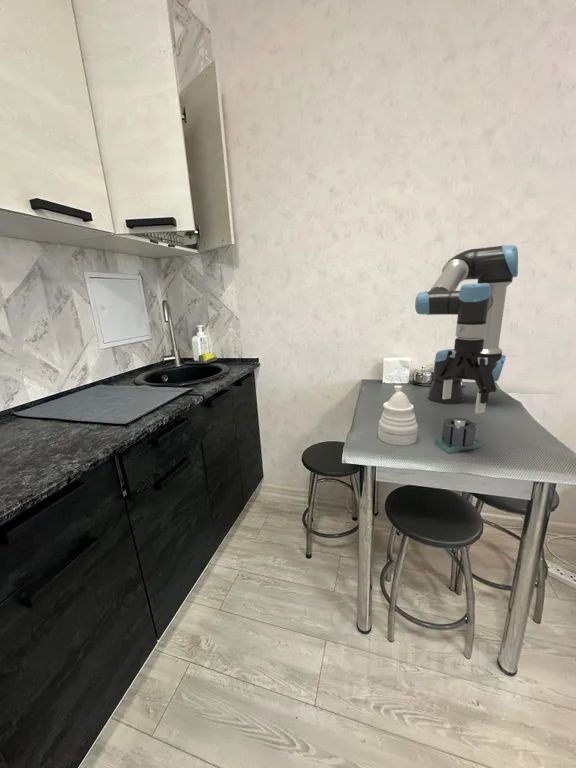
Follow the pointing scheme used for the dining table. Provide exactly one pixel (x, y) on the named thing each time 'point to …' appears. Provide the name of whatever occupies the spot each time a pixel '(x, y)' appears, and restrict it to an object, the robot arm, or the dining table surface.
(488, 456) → the dining table surface
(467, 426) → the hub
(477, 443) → the teal two-tone fixture
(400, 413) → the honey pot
